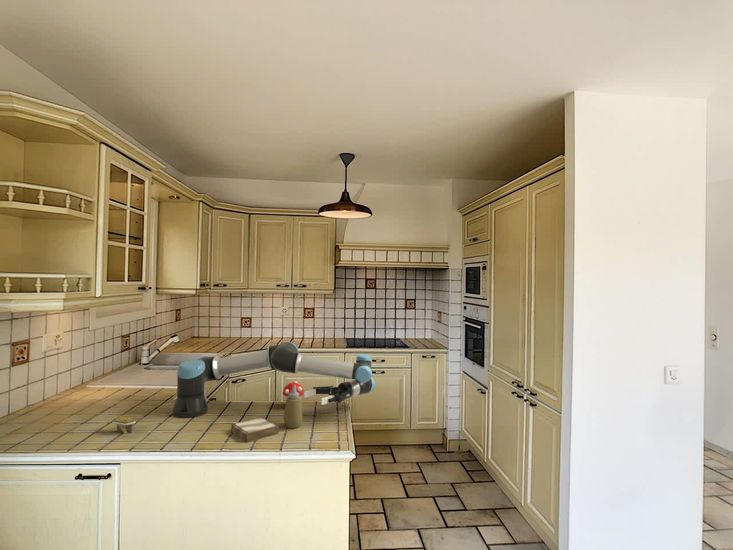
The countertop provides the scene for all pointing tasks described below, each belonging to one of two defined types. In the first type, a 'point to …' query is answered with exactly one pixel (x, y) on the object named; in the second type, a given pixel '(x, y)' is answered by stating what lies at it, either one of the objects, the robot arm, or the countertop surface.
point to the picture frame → (254, 429)
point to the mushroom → (289, 387)
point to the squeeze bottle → (293, 409)
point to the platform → (124, 424)
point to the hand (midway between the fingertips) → (312, 397)
